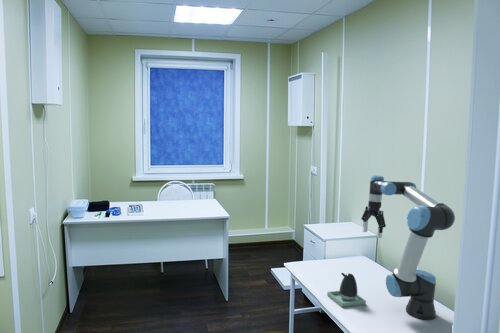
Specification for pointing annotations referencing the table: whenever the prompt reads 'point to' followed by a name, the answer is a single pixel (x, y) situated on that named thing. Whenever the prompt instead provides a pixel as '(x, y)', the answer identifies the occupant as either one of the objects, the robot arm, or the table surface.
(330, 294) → the tray
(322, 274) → the table surface
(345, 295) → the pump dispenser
